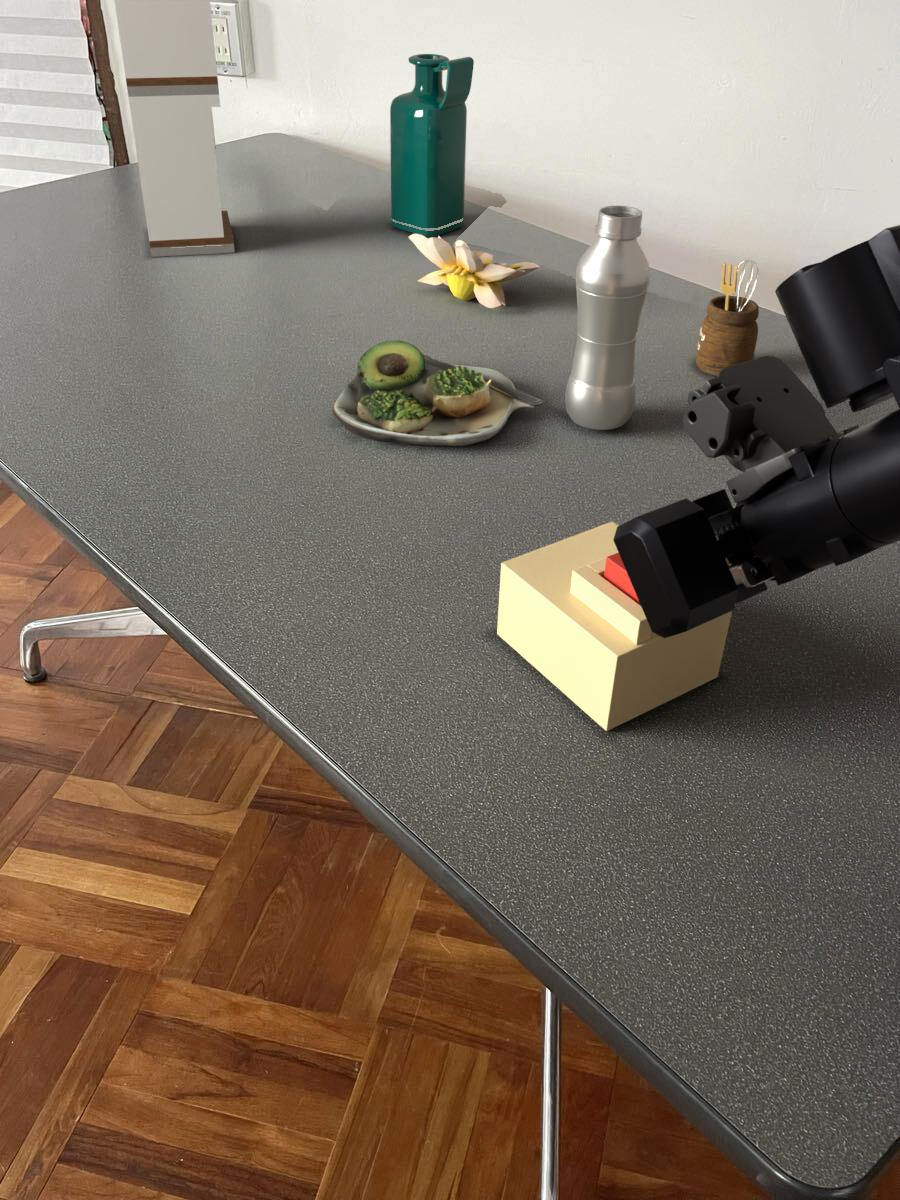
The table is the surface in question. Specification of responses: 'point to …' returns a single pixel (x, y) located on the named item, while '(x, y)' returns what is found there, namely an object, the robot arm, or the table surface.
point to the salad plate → (425, 399)
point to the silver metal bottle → (608, 321)
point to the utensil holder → (728, 328)
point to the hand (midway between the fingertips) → (680, 565)
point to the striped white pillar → (175, 122)
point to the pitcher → (430, 146)
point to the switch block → (599, 632)
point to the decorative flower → (468, 270)
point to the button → (619, 576)
